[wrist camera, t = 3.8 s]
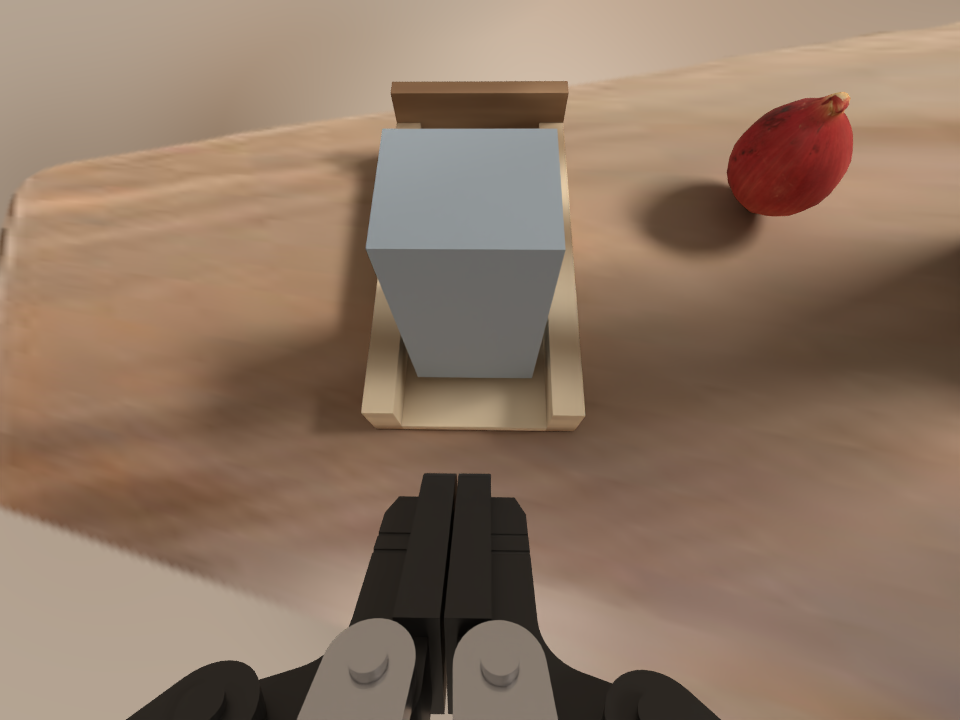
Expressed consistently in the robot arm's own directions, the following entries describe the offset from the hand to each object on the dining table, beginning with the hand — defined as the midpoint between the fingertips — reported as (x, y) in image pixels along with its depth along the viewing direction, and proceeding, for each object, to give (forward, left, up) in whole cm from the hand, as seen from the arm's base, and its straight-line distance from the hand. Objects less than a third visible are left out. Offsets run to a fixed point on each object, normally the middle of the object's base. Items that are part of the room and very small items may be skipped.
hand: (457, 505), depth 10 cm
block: (+7, -7, -11) cm, 15 cm away
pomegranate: (+2, -26, -13) cm, 29 cm away
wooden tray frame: (+11, -10, -13) cm, 19 cm away
